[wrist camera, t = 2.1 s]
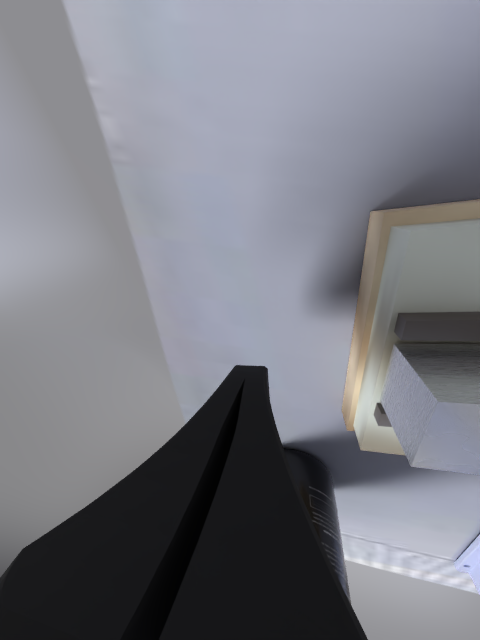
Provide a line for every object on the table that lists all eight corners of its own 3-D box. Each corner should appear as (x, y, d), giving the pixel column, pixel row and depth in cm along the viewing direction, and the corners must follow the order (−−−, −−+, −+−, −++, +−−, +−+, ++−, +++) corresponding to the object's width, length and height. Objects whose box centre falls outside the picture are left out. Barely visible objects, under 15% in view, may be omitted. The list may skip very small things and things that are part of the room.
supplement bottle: (243, 442, 18) (185, 754, 8) (329, 447, 16) (400, 862, 6) (258, 487, 21) (229, 757, 11) (332, 495, 19) (383, 830, 9)
